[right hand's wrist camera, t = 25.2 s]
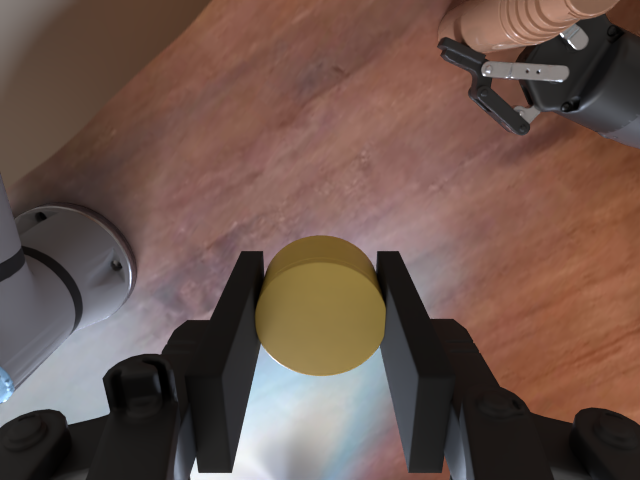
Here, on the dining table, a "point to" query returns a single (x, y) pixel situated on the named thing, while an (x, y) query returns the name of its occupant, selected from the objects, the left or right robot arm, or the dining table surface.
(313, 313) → the cap
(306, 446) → the dining table surface
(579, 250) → the dining table surface
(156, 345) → the dining table surface
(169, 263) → the dining table surface
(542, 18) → the bottle
